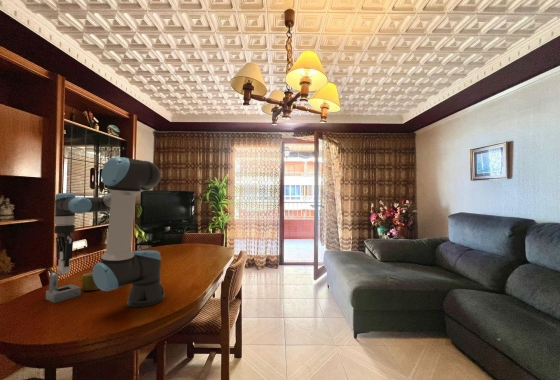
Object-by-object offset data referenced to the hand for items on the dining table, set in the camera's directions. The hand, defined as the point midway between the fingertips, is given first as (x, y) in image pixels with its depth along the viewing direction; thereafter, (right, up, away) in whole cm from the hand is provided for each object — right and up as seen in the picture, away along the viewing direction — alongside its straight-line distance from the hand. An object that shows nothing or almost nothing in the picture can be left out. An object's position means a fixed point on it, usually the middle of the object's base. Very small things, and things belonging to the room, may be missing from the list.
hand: (63, 272), depth 119 cm
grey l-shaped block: (-3, -12, +2) cm, 13 cm away
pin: (0, -1, 0) cm, 1 cm away
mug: (+6, -12, +12) cm, 18 cm away
